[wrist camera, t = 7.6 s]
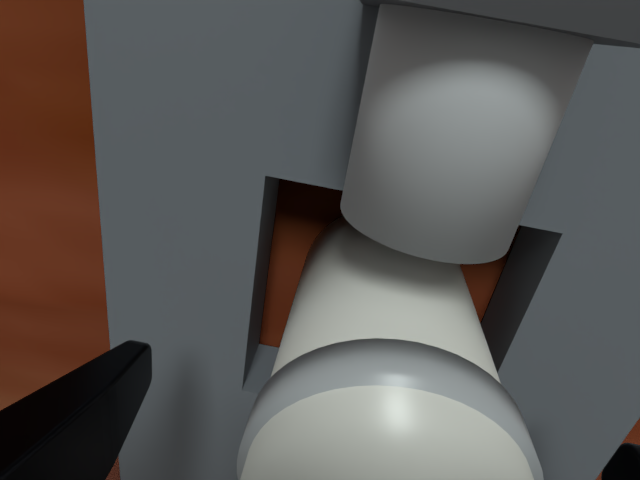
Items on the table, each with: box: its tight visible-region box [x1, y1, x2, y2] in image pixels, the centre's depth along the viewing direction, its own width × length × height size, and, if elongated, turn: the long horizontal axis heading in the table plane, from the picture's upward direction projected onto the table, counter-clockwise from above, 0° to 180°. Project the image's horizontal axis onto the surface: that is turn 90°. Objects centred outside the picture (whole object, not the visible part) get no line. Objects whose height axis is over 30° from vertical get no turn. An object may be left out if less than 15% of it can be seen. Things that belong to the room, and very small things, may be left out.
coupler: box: [237, 216, 544, 480], centre depth 9 cm, size 5×5×7 cm
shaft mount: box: [84, 0, 640, 480], centre depth 10 cm, size 17×14×6 cm
